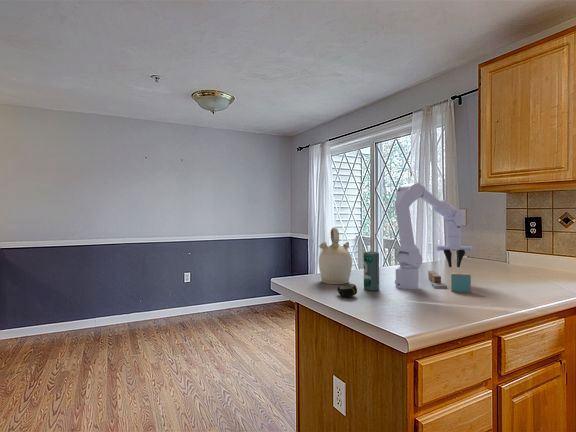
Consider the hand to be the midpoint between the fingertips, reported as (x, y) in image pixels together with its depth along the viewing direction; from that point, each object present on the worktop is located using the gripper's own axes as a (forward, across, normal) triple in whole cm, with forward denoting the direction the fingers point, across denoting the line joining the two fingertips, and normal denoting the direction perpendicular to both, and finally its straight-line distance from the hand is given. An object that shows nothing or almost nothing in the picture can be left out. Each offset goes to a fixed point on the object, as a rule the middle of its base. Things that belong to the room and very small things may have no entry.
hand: (454, 267), depth 152 cm
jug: (+7, -52, -6) cm, 53 cm away
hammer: (+7, -8, -3) cm, 11 cm away
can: (+7, -36, -18) cm, 41 cm away
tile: (+7, -2, -17) cm, 18 cm away
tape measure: (+7, -44, -29) cm, 54 cm away
